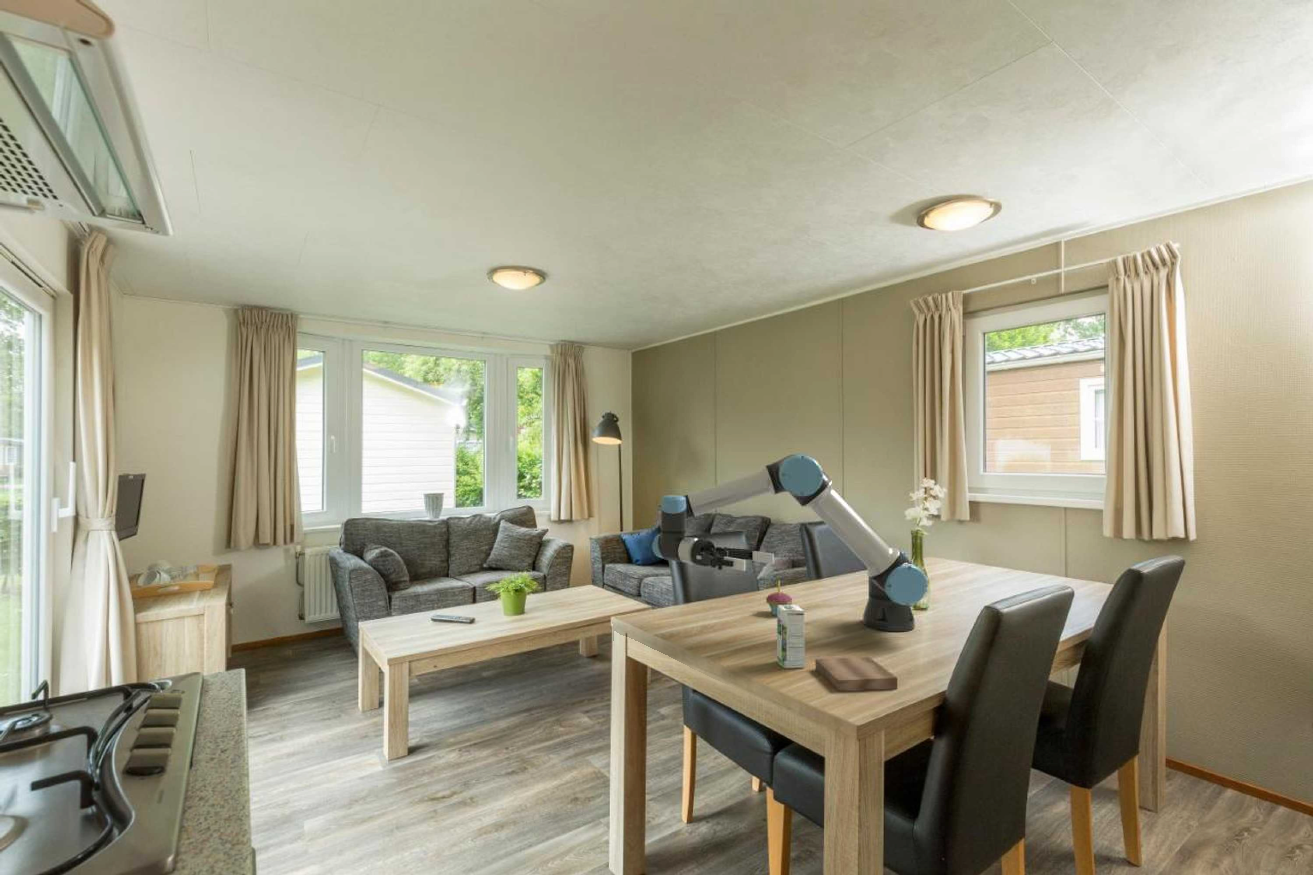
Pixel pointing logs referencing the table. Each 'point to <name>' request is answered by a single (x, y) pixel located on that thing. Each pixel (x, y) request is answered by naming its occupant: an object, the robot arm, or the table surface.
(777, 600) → the cupcake
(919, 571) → the robot arm
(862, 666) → the walnut board
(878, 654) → the table surface
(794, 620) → the syrup box
